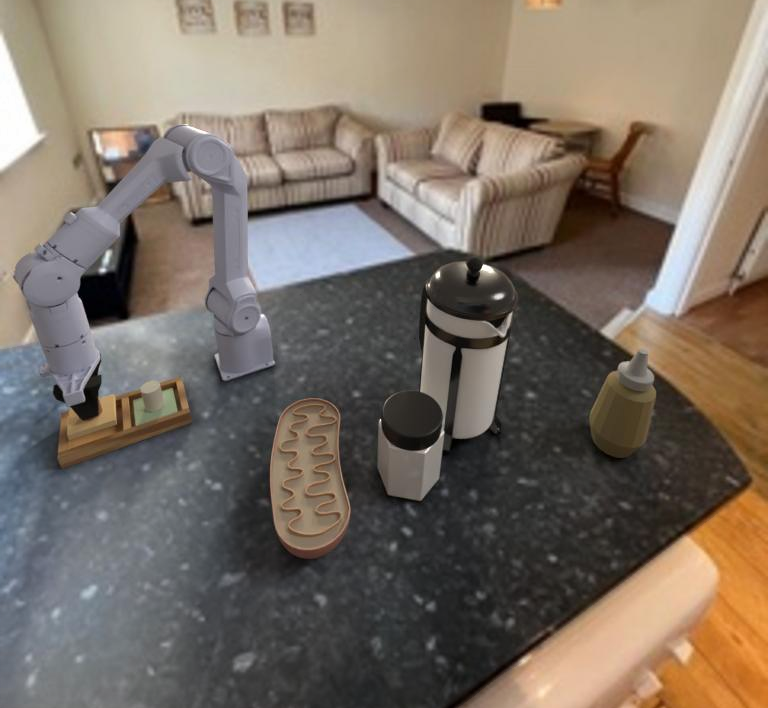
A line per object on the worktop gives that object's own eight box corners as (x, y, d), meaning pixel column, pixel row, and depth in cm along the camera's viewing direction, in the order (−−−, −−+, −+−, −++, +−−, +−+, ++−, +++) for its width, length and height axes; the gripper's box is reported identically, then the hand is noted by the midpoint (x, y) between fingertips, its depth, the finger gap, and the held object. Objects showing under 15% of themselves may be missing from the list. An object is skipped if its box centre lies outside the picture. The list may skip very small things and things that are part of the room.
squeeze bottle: (635, 430, 72) (669, 340, 65) (644, 472, 66) (683, 377, 58) (582, 416, 75) (608, 328, 67) (585, 455, 68) (615, 362, 60)
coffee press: (510, 399, 78) (540, 244, 65) (489, 473, 65) (522, 297, 52) (417, 368, 84) (428, 222, 72) (381, 430, 71) (386, 264, 58)
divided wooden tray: (65, 424, 70) (61, 413, 70) (183, 386, 79) (181, 375, 78) (61, 469, 63) (57, 458, 62) (192, 422, 71) (189, 411, 70)
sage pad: (173, 391, 76) (168, 369, 74) (178, 416, 72) (173, 392, 69) (134, 404, 73) (127, 381, 71) (136, 430, 69) (129, 406, 67)
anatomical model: (354, 568, 53) (354, 542, 51) (268, 584, 51) (264, 557, 49) (338, 417, 73) (337, 394, 71) (276, 425, 71) (273, 401, 69)
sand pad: (115, 398, 71) (108, 373, 69) (116, 424, 67) (108, 399, 65) (70, 412, 69) (61, 387, 66) (68, 440, 64) (59, 414, 62)
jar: (404, 438, 70) (408, 379, 65) (448, 469, 65) (456, 408, 60) (365, 477, 63) (366, 415, 58) (411, 514, 59) (416, 450, 54)
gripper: (35, 315, 65) (61, 387, 71) (22, 377, 54) (54, 456, 59) (91, 303, 68) (112, 372, 74) (91, 358, 57) (115, 435, 63)
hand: (90, 408), depth 67 cm, fingers closed on sand pad, 3 cm apart
